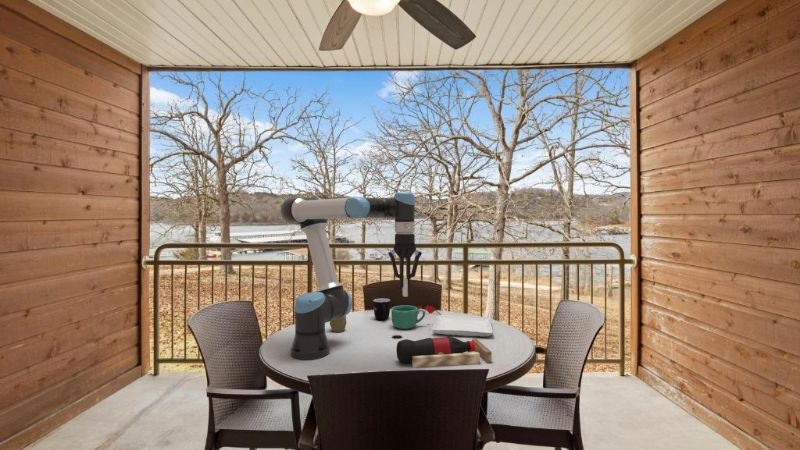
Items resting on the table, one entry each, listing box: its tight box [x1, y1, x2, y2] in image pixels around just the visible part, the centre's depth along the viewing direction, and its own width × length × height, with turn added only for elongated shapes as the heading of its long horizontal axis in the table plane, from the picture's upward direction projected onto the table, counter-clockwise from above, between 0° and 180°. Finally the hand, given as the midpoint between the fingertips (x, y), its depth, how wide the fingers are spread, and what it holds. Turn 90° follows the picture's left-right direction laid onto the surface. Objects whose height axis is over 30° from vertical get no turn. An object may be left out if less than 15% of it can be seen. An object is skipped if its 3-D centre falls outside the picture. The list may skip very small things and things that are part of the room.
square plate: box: [431, 314, 494, 338], centre depth 193 cm, size 27×27×4 cm
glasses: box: [414, 304, 442, 315], centre depth 217 cm, size 14×16×5 cm
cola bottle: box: [396, 335, 475, 364], centre depth 152 cm, size 8×8×30 cm
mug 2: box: [390, 304, 426, 330], centre depth 197 cm, size 17×13×10 cm
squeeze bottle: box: [329, 315, 348, 333], centre depth 192 cm, size 8×8×18 cm
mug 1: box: [372, 297, 391, 322], centre depth 211 cm, size 12×9×10 cm
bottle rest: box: [411, 338, 493, 369], centre depth 155 cm, size 30×16×4 cm, turn 99°
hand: (405, 295), depth 152 cm, fingers closed
